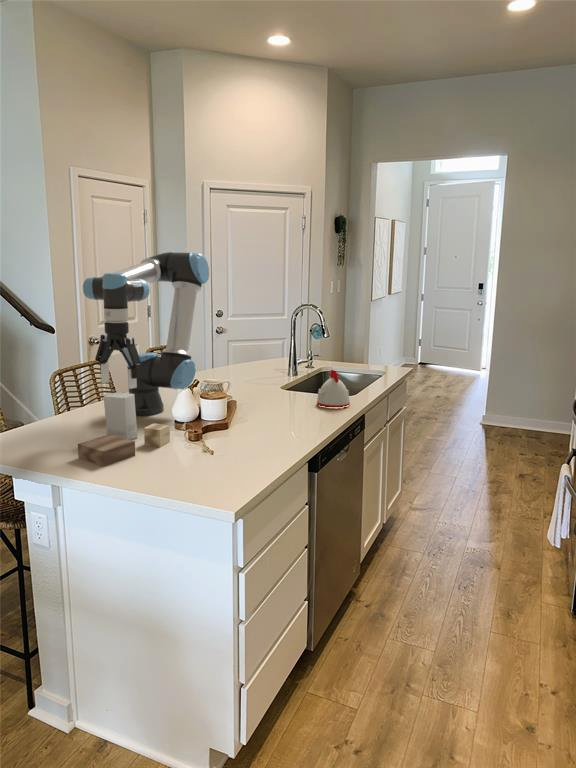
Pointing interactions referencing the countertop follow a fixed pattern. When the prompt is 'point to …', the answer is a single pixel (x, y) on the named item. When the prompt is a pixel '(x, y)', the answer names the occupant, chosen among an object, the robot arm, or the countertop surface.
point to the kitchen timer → (333, 392)
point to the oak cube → (156, 435)
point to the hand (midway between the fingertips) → (118, 385)
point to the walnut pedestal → (106, 450)
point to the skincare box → (120, 415)
